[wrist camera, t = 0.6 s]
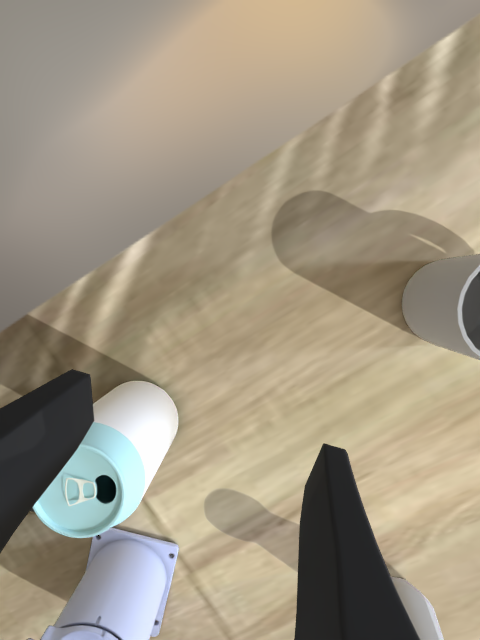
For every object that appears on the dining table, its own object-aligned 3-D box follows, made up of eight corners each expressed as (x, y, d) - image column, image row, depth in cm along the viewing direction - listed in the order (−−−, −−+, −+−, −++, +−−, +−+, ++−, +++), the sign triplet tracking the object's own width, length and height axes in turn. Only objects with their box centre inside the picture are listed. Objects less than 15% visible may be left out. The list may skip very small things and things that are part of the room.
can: (146, 363, 32) (81, 409, 20) (195, 423, 33) (160, 504, 21) (87, 409, 33) (-9, 481, 21) (136, 468, 33) (69, 572, 21)
